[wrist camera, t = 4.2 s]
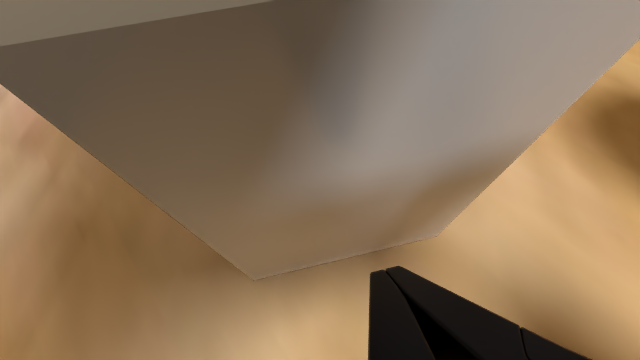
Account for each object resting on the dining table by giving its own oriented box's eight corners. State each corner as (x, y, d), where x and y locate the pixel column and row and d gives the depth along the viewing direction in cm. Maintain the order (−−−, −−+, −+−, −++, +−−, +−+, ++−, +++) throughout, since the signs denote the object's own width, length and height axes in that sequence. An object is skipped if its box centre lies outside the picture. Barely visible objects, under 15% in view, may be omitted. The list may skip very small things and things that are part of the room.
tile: (436, 236, 16) (762, -82, 4) (253, 280, 16) (-40, 52, 3) (418, 194, 18) (628, -151, 5) (247, 233, 17) (17, -66, 4)
